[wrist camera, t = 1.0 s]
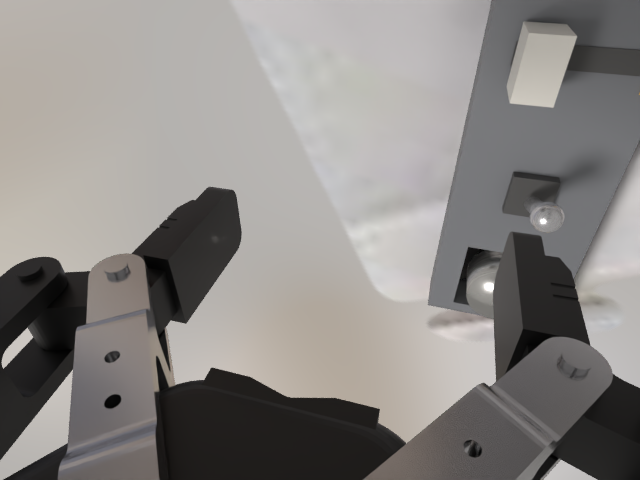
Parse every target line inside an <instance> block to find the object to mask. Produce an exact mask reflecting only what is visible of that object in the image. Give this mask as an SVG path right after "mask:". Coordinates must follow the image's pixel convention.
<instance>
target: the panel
mask: <svg viewBox="0 0 640 480" xmlns="http://www.w3.org/2000/svg"><path fill="white" fill-rule="evenodd" d="M524 21H525V22H541V23H557V24H567V25H568V26H569V27H570V28H571V30H572V31H573V32H574V33H575V34H576V35H577V39H576V42H575V45H574V48H573V51H572V54H571V57H570V60H569V62H568V65H567V68H566V71H565V74H564V77H563V80H562V83H561V86H560V89H559V92H558V95H557V98H556V101H555V104H554V107H553V108H551V107H541V106H531V105H521V104H511V103H510V102H509V97H508V92H507V82H508V79H509V75H510V71H511V67H512V63H513V60H514V56H515V52H516V48H517V44H518V41H519V37H520V33H521V29H522V25H523V22H524ZM639 141H640V0H492V3H491V7H490V12H489V16H488V21H487V26H486V30H485V35H484V39H483V44H482V48H481V53H480V58H479V62H478V67H477V71H476V76H475V81H474V85H473V90H472V94H471V99H470V103H469V108H468V113H467V117H466V122H465V126H464V131H463V135H462V140H461V145H460V149H459V154H458V158H457V163H456V168H455V172H454V177H453V181H452V186H451V190H450V195H449V200H448V204H447V209H446V213H445V218H444V223H443V227H442V232H441V236H440V241H439V245H438V250H437V255H436V259H435V264H434V268H433V273H432V277H431V283H430V292H429V300H428V305H431V306H436V307H441V308H446V309H451V310H456V311H461V312H466V313H471V314H476V315H480V314H478V313H477V312H475V311H474V310H473V309H472V308H471V307H470V305H469V304H468V301H467V297H466V292H467V280H465V279H460V275H461V271H462V268H463V264H464V260H465V257H466V253H467V249H468V247H472V248H478V249H484V250H490V251H496V252H502V253H503V251H504V247H505V244H506V241H507V238H508V235H509V233H510V232H511V231H512V232H519V233H526V234H533V235H540V236H541V237H542V241H543V246H544V252H545V255H546V256H553V257H559V258H560V259H561V260H562V261H563V262H564V264H565V265H566V266H567V267H568V268H569V269H570V271H571V272H572V276H573V279H574V277H575V275H576V273H577V271H578V269H579V267H580V265H581V263H582V261H583V258H584V256H585V254H586V252H587V250H588V248H589V246H590V244H591V242H592V240H593V237H594V235H595V233H596V231H597V229H598V227H599V225H600V223H601V221H602V219H603V216H604V214H605V212H606V210H607V208H608V206H609V204H610V202H611V200H612V198H613V195H614V193H615V191H616V189H617V187H618V185H619V183H620V181H621V179H622V177H623V174H624V172H625V170H626V168H627V166H628V164H629V162H630V160H631V158H632V156H633V153H634V151H635V149H636V147H637V145H638V143H639ZM532 196H535V197H537V198H539V199H540V200H541V201H542V202H553V203H556V204H557V205H559V206H560V207H561V208H562V210H563V212H564V222H563V224H562V226H561V227H560V228H559V229H557V230H556V231H553V232H550V233H544V232H540V231H538V230H536V229H535V228H534V227H533V226H532V225H531V222H530V213H529V212H528V210H527V209H526V208H525V206H524V203H525V200H526V199H527V198H529V197H532ZM481 316H482V315H481Z"/></svg>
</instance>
